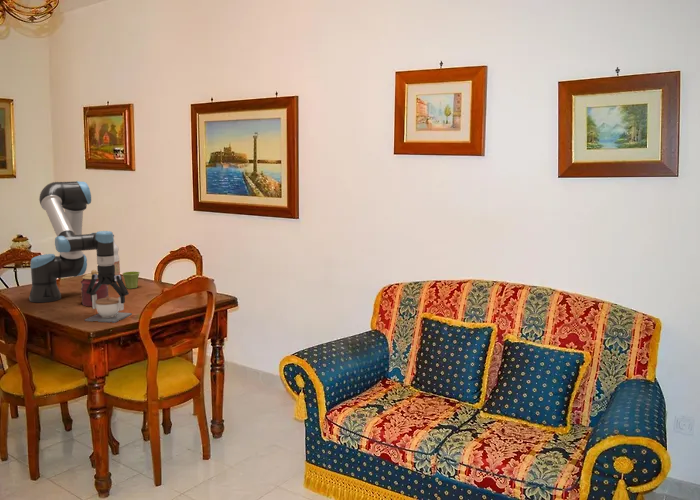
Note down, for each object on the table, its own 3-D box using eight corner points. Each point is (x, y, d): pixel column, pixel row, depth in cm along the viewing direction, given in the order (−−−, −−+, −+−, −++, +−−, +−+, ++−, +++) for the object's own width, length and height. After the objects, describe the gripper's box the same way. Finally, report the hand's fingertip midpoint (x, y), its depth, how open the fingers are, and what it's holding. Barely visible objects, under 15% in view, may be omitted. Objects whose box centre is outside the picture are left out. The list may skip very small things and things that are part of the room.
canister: (76, 306, 321) (74, 271, 318) (90, 300, 333) (88, 267, 331) (100, 307, 319) (99, 272, 316) (114, 301, 331) (112, 268, 329)
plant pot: (135, 289, 359) (134, 274, 358) (119, 289, 360) (119, 274, 359) (143, 286, 368) (142, 271, 367) (128, 285, 369) (127, 271, 368)
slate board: (84, 321, 293) (84, 319, 293) (103, 313, 307) (103, 311, 307) (114, 322, 290) (114, 321, 290) (131, 314, 304) (131, 313, 304)
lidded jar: (112, 312, 306) (111, 293, 305) (125, 315, 299) (124, 296, 298) (91, 316, 298) (90, 296, 296) (104, 320, 291) (102, 300, 290)
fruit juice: (116, 282, 379) (113, 235, 374) (100, 282, 380) (98, 235, 375) (123, 279, 388) (120, 233, 384) (108, 279, 389) (105, 233, 385)
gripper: (76, 264, 293) (79, 309, 297) (126, 267, 289) (128, 312, 292) (86, 262, 301) (88, 305, 304) (134, 264, 296) (136, 308, 299)
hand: (108, 309), depth 298 cm, fingers open, 13 cm apart
